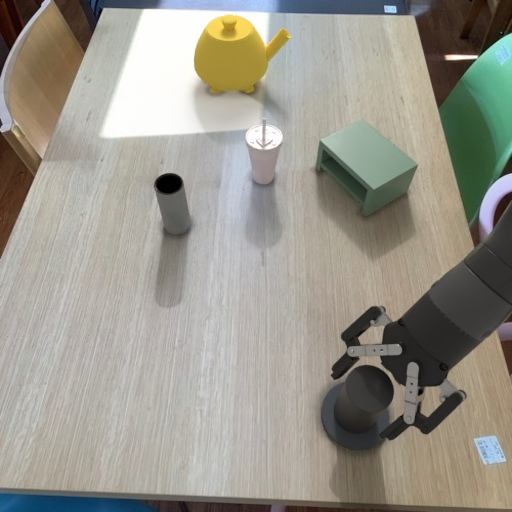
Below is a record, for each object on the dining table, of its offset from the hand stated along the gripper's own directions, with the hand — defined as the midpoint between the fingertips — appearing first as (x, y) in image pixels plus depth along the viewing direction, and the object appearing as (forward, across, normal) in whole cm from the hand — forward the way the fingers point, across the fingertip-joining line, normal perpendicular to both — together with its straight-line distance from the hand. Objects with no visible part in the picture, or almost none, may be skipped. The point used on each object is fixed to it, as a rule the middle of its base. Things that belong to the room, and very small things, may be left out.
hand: (357, 405), depth 57 cm
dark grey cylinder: (+4, 0, -6) cm, 7 cm away
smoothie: (-6, +42, -17) cm, 46 cm away
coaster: (+4, 0, -6) cm, 8 cm away
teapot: (-15, +68, -26) cm, 75 cm away
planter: (+7, +42, -4) cm, 42 cm away
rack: (-16, +32, -27) cm, 44 cm away
